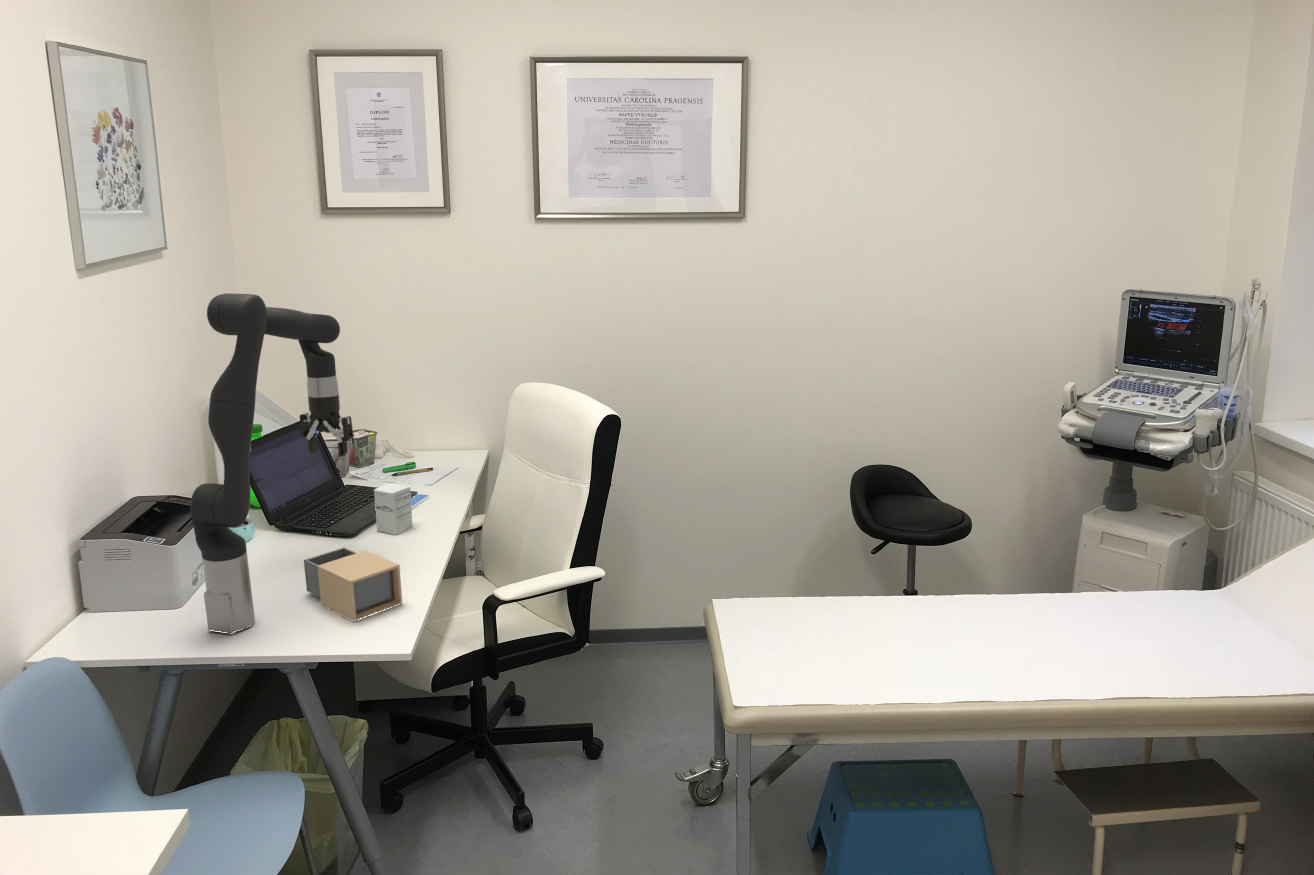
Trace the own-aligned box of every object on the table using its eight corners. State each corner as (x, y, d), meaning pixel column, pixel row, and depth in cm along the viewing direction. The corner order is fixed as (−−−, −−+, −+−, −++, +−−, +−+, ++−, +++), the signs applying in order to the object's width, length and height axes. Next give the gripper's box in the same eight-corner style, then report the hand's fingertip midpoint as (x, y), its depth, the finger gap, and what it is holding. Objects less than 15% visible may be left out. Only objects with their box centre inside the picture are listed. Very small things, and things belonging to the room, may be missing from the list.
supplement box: (376, 531, 288) (372, 489, 284) (394, 523, 294) (390, 482, 291) (396, 535, 284) (392, 493, 281) (413, 527, 291) (410, 485, 287)
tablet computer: (394, 495, 321) (393, 491, 320) (430, 498, 318) (430, 494, 318) (363, 515, 303) (362, 511, 302) (401, 518, 300) (401, 514, 299)
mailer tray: (306, 590, 245) (303, 560, 243) (347, 577, 253) (344, 547, 251) (352, 614, 233) (349, 581, 230) (393, 599, 240) (391, 567, 238)
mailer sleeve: (321, 605, 240) (317, 565, 237) (369, 588, 249) (365, 550, 247) (354, 622, 231) (350, 581, 228) (402, 604, 240) (399, 564, 238)
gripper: (290, 394, 257) (295, 456, 261) (338, 397, 253) (343, 460, 257) (308, 388, 264) (313, 448, 268) (355, 391, 260) (360, 452, 264)
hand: (328, 454), depth 262 cm, fingers open, 8 cm apart
